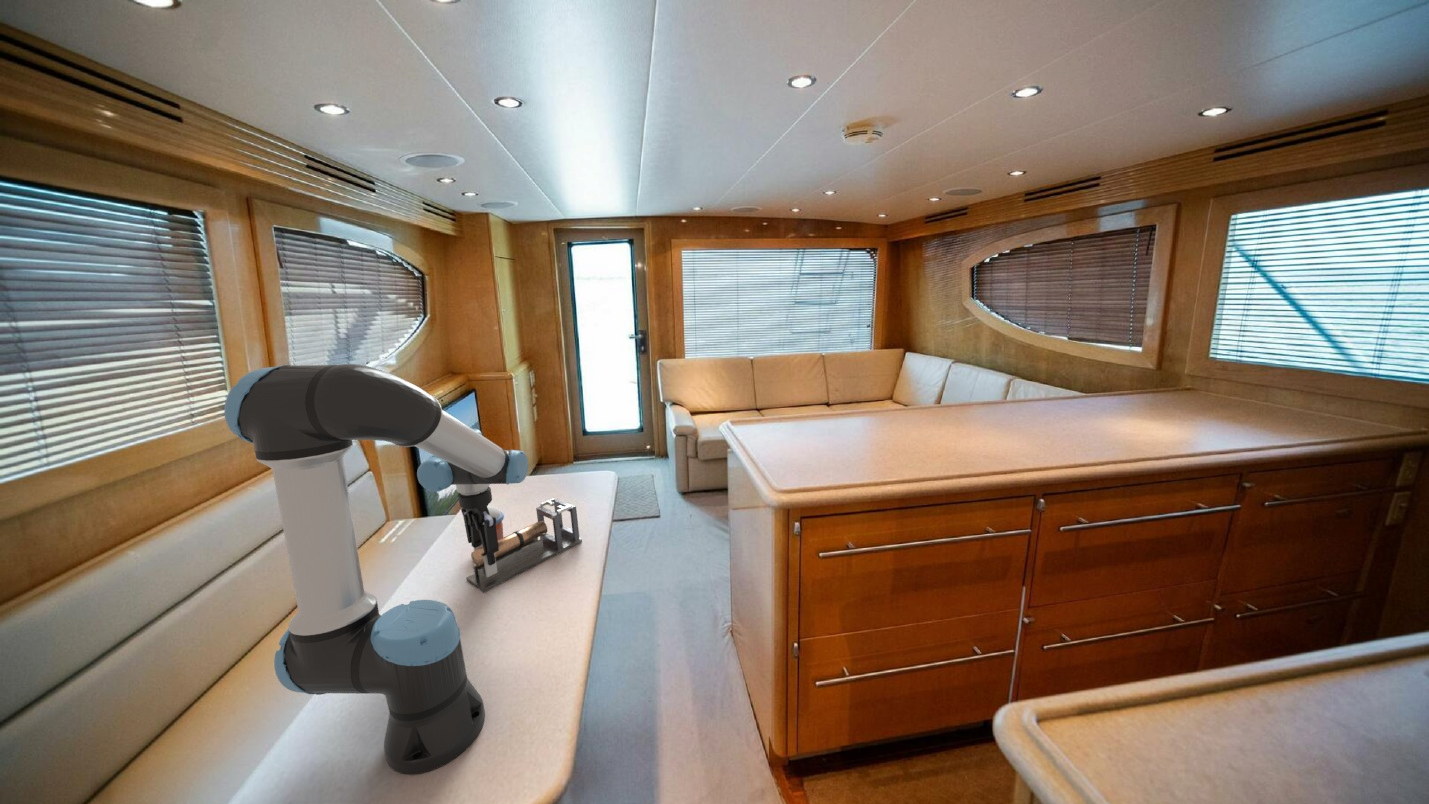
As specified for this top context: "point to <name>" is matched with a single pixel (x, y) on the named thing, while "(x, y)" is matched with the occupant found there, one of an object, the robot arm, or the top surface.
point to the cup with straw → (497, 520)
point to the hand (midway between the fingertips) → (487, 571)
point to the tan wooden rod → (513, 541)
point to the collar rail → (532, 548)
